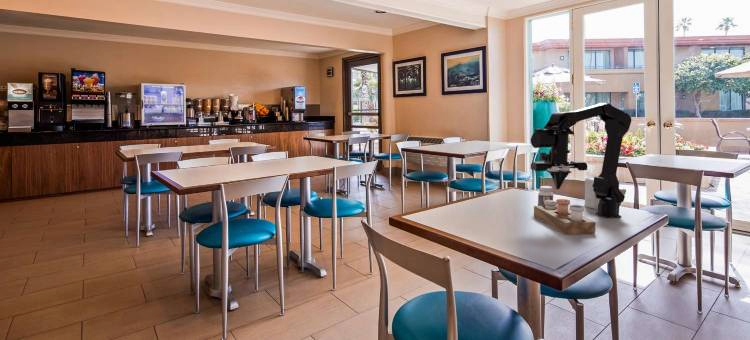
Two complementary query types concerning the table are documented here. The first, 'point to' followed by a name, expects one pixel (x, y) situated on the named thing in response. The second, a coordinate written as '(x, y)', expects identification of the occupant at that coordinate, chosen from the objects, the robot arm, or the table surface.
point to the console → (564, 221)
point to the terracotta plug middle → (562, 206)
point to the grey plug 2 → (576, 213)
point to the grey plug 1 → (550, 204)
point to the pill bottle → (544, 195)
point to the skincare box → (590, 194)
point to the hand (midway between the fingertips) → (557, 189)
